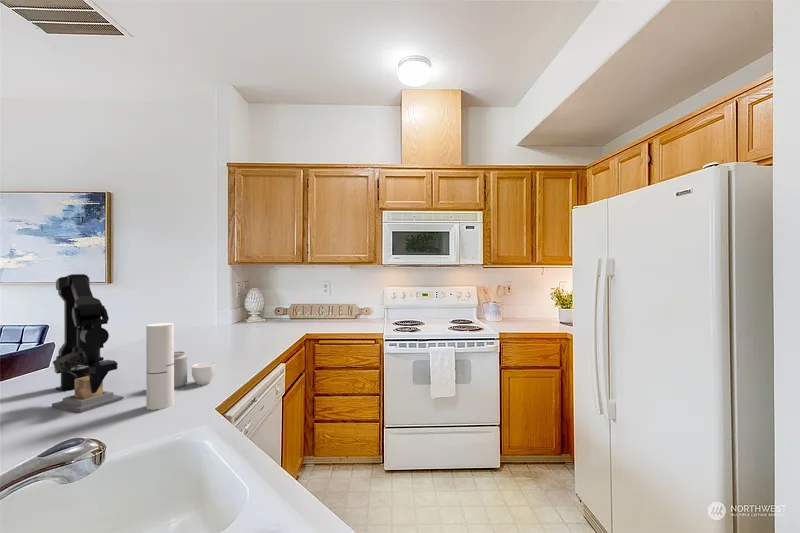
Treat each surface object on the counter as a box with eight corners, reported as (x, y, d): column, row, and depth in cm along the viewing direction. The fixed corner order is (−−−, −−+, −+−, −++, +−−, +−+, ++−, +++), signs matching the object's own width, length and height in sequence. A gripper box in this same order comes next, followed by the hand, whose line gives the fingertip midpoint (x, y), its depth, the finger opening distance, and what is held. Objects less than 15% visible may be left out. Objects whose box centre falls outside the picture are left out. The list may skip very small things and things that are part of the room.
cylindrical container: (179, 403, 117) (179, 323, 117) (158, 411, 110) (157, 326, 110) (162, 400, 119) (162, 322, 119) (140, 408, 112) (140, 325, 113)
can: (176, 389, 130) (176, 355, 130) (157, 388, 132) (157, 354, 132) (192, 383, 138) (192, 350, 138) (174, 382, 139) (174, 350, 139)
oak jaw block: (74, 398, 116) (74, 379, 116) (92, 393, 121) (92, 374, 121) (84, 400, 114) (84, 380, 114) (102, 395, 119) (102, 376, 119)
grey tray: (52, 406, 114) (52, 398, 114) (95, 394, 126) (95, 387, 126) (80, 412, 109) (80, 404, 110) (123, 399, 121) (123, 391, 121)
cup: (199, 387, 132) (199, 368, 132) (184, 383, 137) (184, 365, 138) (219, 382, 139) (219, 364, 139) (204, 378, 144) (204, 360, 144)
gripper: (39, 345, 114) (39, 396, 113) (77, 349, 107) (77, 404, 107) (81, 339, 124) (81, 386, 124) (118, 342, 117) (118, 392, 117)
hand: (88, 391), depth 118 cm, fingers closed on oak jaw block, 5 cm apart
